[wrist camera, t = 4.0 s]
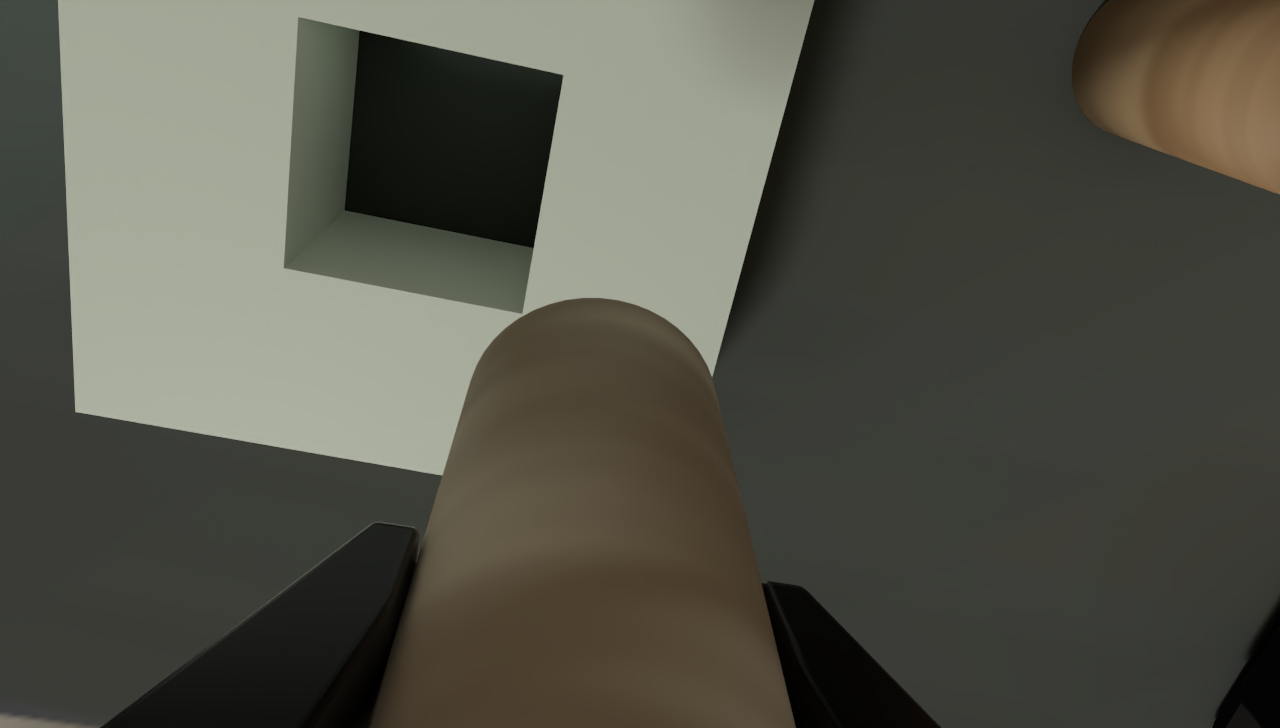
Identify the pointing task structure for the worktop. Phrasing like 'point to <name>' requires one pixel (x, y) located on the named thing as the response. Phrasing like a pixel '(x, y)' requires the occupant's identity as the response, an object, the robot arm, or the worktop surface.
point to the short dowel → (1188, 81)
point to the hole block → (377, 247)
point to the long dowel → (586, 544)
